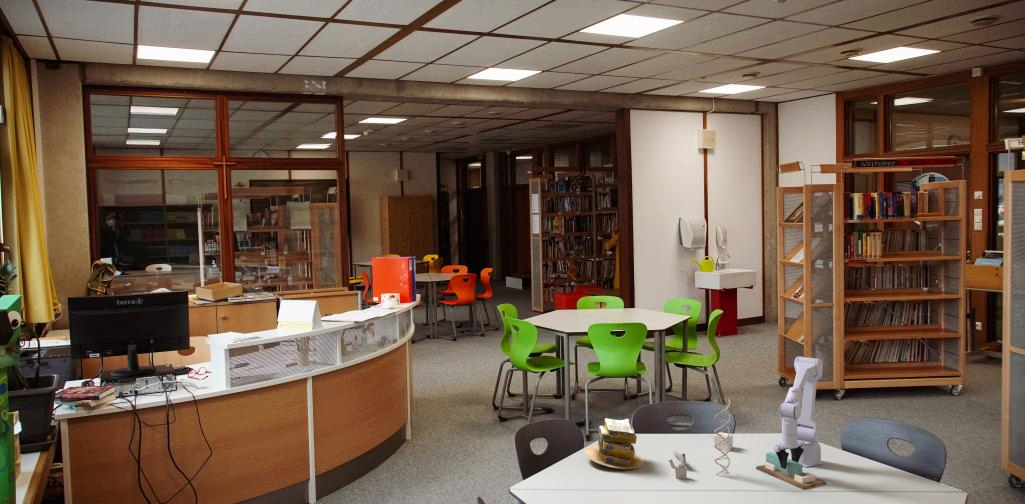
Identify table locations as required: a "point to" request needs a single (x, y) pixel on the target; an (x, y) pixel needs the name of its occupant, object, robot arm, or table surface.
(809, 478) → the end caps
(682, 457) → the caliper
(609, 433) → the stacked boxes on plate
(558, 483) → the table surface
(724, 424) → the dna model
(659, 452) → the table surface
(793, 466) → the slat
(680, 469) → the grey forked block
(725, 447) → the beige cube
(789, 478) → the walnut board
